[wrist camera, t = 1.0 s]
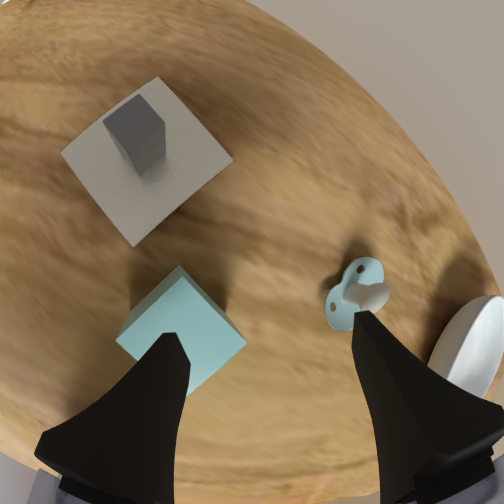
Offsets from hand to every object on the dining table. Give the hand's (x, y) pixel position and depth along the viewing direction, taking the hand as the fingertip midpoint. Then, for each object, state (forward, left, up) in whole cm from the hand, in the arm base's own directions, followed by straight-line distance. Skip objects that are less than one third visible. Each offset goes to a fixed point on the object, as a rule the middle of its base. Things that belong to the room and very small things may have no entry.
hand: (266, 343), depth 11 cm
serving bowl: (+17, -32, -12) cm, 38 cm away
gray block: (+3, +12, -12) cm, 17 cm away
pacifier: (+9, -9, -12) cm, 17 cm away
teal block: (-3, +1, -12) cm, 12 cm away
